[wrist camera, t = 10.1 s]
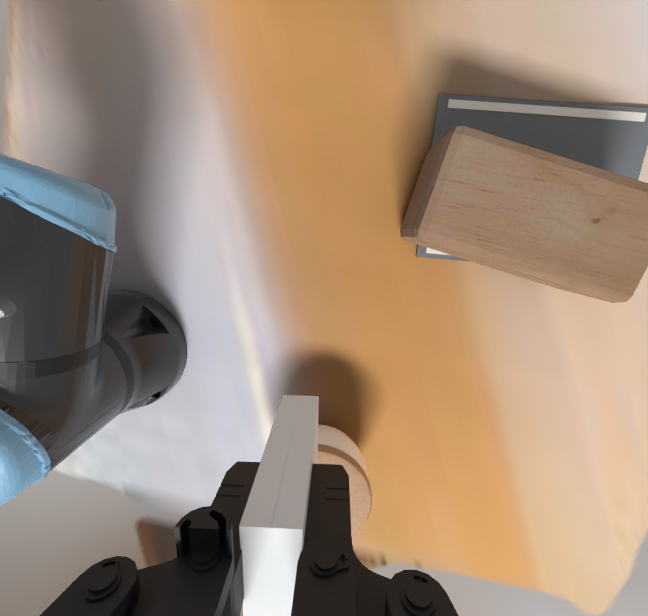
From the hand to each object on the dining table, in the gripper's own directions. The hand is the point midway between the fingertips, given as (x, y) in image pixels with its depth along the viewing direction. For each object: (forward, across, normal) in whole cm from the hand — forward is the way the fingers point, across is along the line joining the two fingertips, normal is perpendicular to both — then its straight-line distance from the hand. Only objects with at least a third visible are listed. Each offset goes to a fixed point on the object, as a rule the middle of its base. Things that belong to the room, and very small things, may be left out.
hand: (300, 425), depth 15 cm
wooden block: (+23, +9, +12) cm, 27 cm away
